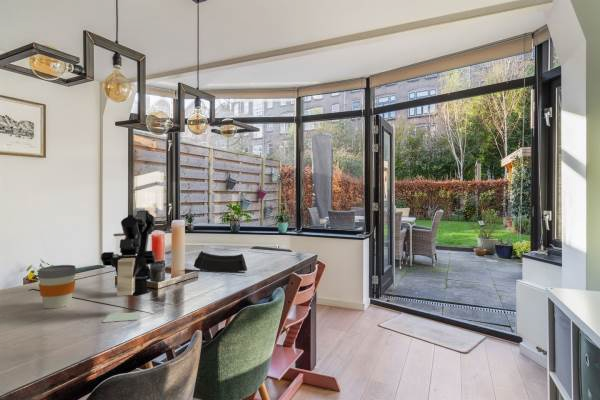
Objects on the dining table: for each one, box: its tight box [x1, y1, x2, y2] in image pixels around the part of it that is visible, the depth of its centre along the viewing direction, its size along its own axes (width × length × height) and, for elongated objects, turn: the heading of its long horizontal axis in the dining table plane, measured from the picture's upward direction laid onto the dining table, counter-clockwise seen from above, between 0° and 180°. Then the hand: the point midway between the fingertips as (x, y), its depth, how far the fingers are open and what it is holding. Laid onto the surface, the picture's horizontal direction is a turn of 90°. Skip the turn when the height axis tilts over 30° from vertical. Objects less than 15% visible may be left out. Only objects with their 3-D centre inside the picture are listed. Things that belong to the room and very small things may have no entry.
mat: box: [102, 311, 142, 323], centre depth 127 cm, size 8×11×1 cm
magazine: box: [193, 250, 248, 273], centre depth 203 cm, size 18×3×31 cm
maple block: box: [116, 258, 135, 296], centre depth 133 cm, size 5×5×13 cm
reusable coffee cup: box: [37, 264, 77, 309], centre depth 140 cm, size 13×13×15 cm
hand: (125, 276), depth 131 cm, fingers closed on maple block, 5 cm apart
